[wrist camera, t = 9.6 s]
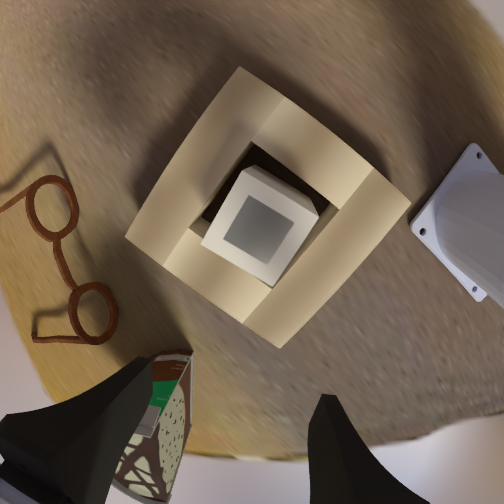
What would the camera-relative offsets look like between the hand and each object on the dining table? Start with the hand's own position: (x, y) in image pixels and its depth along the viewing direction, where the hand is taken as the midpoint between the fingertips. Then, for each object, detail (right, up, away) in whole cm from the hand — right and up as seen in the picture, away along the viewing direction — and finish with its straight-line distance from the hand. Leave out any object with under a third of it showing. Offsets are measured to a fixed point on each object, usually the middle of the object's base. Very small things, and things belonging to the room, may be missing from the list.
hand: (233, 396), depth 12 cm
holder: (+2, +9, +8) cm, 12 cm away
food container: (-7, -6, +14) cm, 17 cm away
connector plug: (+2, +9, +8) cm, 12 cm away
